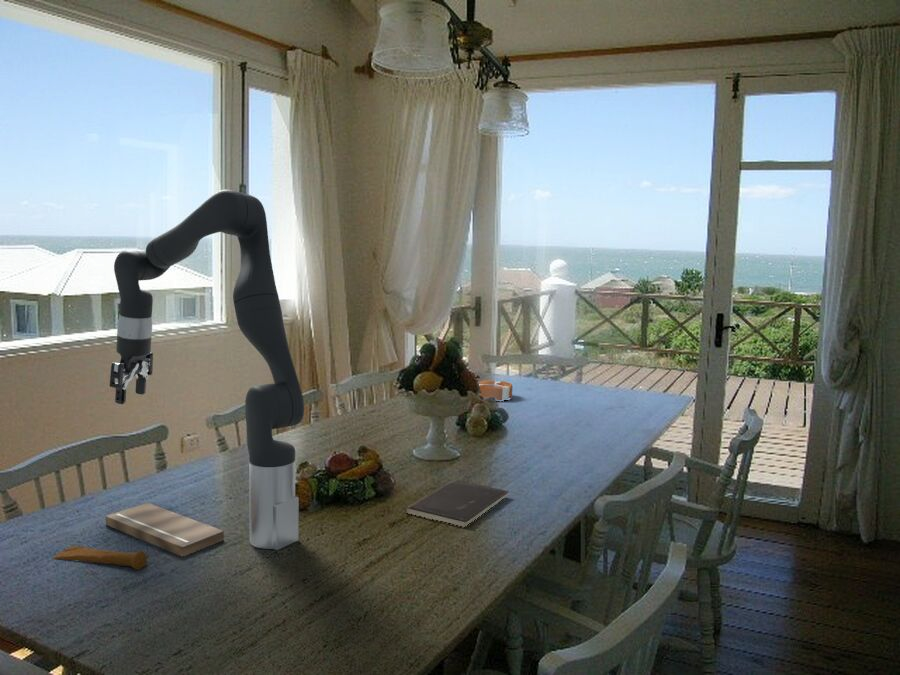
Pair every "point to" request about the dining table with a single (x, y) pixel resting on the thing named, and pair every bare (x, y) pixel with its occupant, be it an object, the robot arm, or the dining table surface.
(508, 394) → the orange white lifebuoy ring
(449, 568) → the dining table surface
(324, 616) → the dining table surface
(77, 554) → the primitive tool
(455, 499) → the hardcover book
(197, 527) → the pale wooden board
